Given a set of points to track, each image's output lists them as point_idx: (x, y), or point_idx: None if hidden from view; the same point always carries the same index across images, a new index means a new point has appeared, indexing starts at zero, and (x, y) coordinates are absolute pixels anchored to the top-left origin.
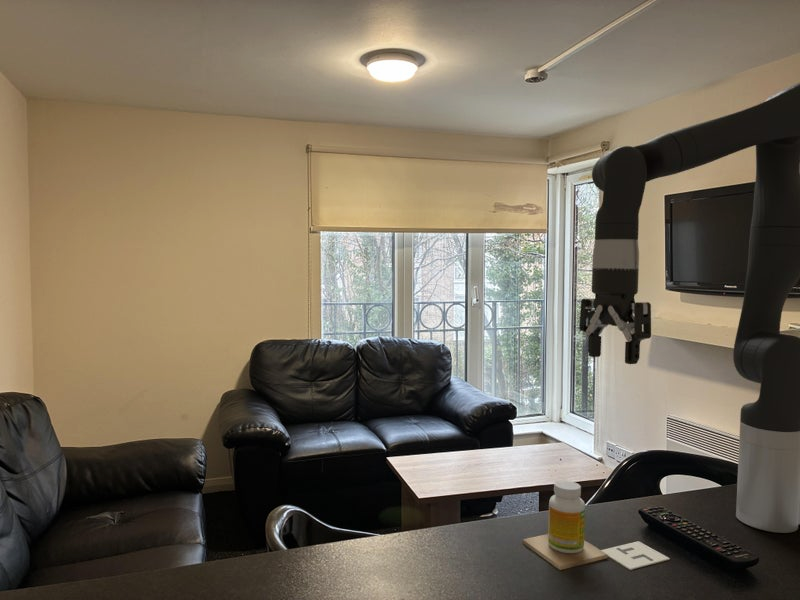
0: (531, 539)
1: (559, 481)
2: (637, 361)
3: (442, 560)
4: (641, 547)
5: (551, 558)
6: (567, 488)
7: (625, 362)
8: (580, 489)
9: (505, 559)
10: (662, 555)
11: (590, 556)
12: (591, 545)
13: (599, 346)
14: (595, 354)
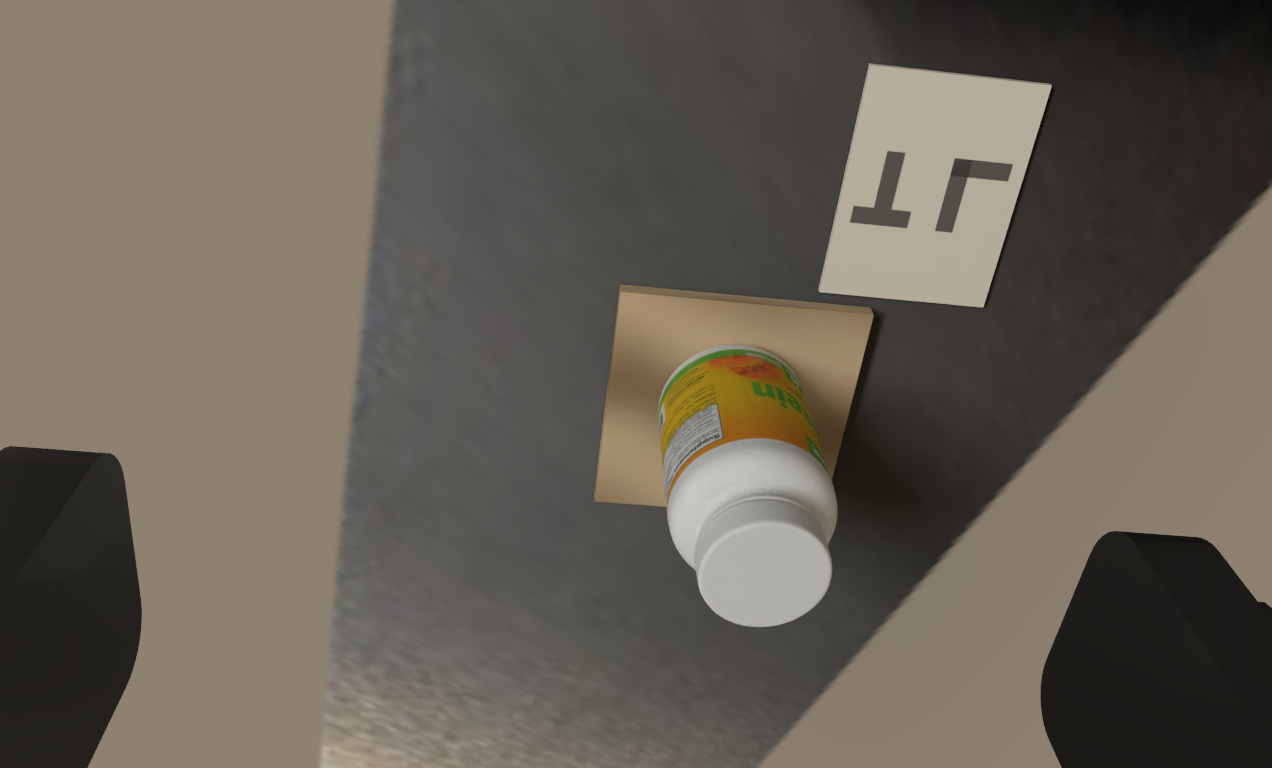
0: (612, 474)
1: (709, 578)
2: (1204, 542)
3: (560, 747)
4: (916, 111)
5: None
6: (798, 605)
7: (1047, 708)
8: (825, 543)
9: (659, 603)
10: (1017, 89)
11: (843, 383)
12: (786, 313)
13: (18, 638)
14: (117, 595)
